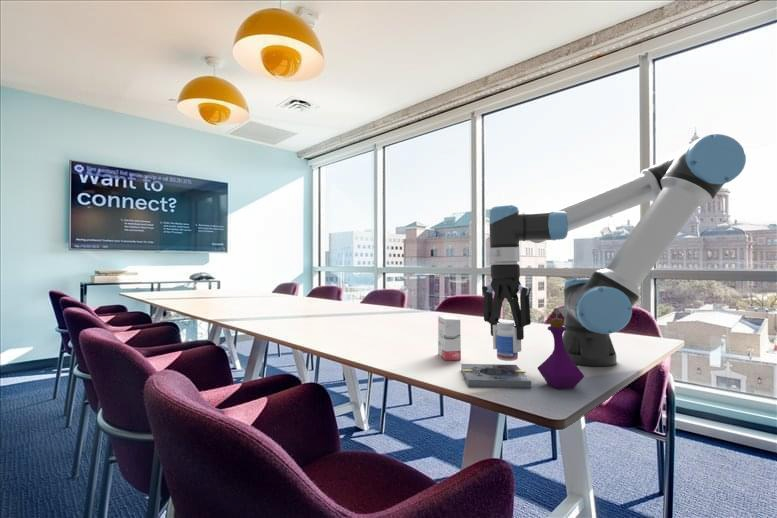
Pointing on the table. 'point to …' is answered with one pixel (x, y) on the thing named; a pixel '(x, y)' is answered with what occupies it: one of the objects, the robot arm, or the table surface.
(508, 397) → the table surface
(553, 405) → the table surface
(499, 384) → the socket plate
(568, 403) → the table surface
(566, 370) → the perfume bottle
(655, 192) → the robot arm
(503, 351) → the pill bottle
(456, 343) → the ink box
